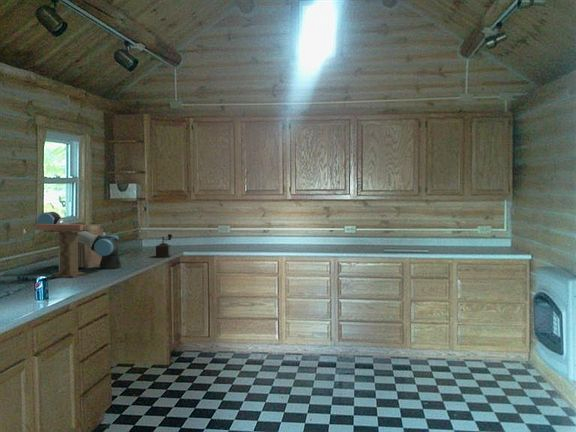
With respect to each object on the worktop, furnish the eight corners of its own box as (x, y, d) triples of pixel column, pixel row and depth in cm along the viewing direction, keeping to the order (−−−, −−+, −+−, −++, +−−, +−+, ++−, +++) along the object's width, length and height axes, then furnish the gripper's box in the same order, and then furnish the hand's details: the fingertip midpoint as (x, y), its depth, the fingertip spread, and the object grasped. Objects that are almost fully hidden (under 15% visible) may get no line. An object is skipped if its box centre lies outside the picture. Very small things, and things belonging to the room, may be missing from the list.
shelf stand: (51, 276, 376) (50, 230, 374) (65, 273, 388) (64, 228, 386) (73, 278, 370) (72, 231, 368) (86, 274, 383) (85, 229, 381)
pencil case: (36, 229, 379) (36, 224, 379) (40, 229, 383) (40, 223, 383) (80, 230, 375) (79, 224, 375) (83, 229, 380) (83, 224, 380)
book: (84, 268, 410) (84, 226, 408) (73, 268, 412) (72, 226, 410) (104, 263, 434) (103, 223, 433) (92, 263, 437) (92, 223, 435)
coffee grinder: (169, 257, 470) (168, 235, 469) (155, 257, 470) (155, 235, 469) (173, 255, 485) (173, 233, 484) (160, 255, 486) (159, 233, 484)
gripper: (26, 247, 407) (47, 233, 400) (-2, 251, 383) (20, 236, 377) (22, 238, 407) (43, 224, 401) (-6, 241, 384) (16, 226, 377)
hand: (32, 230), depth 389 cm, fingers open, 13 cm apart
